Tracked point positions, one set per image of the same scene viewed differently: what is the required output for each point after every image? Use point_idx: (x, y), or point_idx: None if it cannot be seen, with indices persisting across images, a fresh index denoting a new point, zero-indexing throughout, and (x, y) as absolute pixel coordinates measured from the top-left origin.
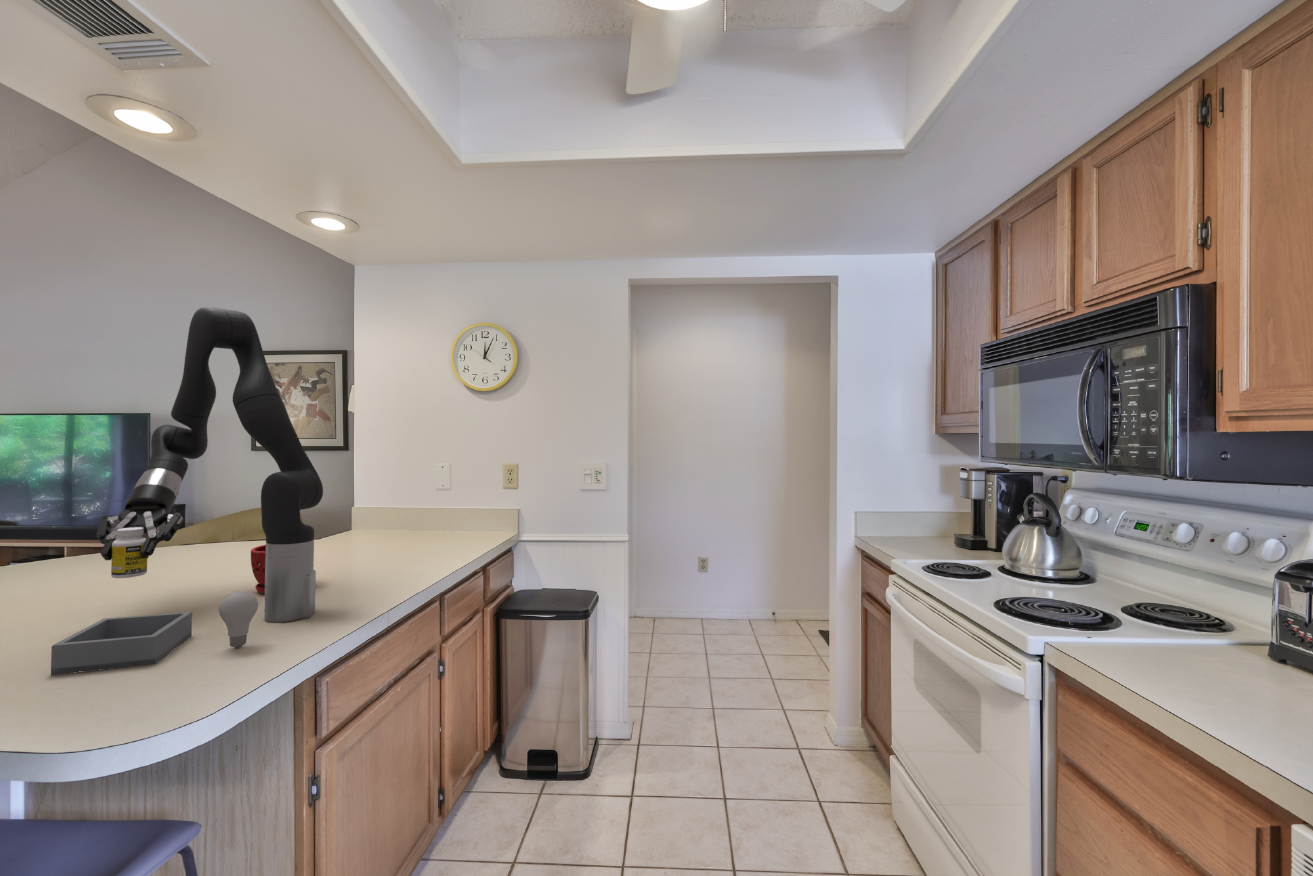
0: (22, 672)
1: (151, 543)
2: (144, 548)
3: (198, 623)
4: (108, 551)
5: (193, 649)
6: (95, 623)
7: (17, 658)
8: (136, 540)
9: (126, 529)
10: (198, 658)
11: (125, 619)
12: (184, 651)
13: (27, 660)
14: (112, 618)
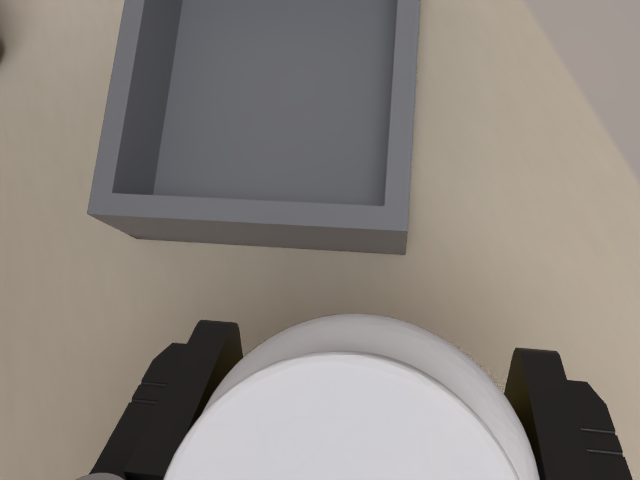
0: (518, 37)
1: (133, 427)
2: (195, 354)
3: None
4: (521, 380)
5: (104, 88)
6: (406, 159)
7: (625, 189)
8: (247, 374)
9: (370, 468)
10: (77, 2)
11: (318, 204)
12: None
13: (575, 153)
14: (370, 217)
